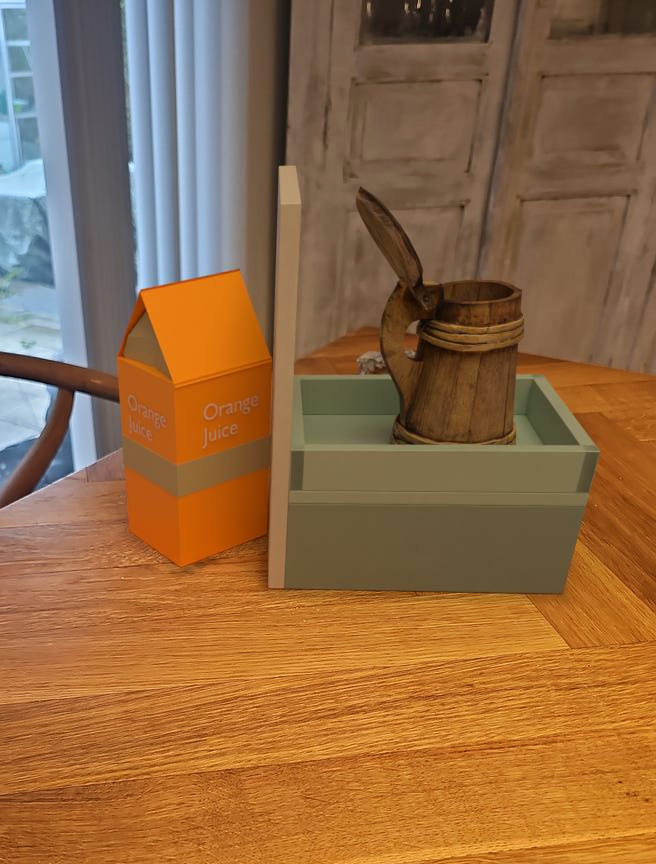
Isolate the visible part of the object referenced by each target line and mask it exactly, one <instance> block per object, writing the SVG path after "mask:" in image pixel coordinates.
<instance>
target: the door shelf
mask: <svg viewBox="0 0 656 864" xmlns="http://www.w3.org/2000/svg"><path fill="white" fill-rule="evenodd" d="M277 178H278V179H277V180H278V182H277V210H276V211H277V215H276V221H277V222H276V243H275V244H276V245H275V247H276V248H275V249H276V250H275V251H276V252H275V254H276V255H275V278H274V281H275V283H274V311H273V312H274V313H273V347H272V380H271V415H270V435H271V441H270V466H269V485H268V527H267V535H268V541H267V544H268V545H267V546H268V547H267V549H268V550H267V551H268V552H267V555H268V556H267V589H278V590H279V589H283V590H284V589H285V590H335V591H337V590H338V591H340V590H342V591H383V592H385V591H386V592H387V591H388V592H391V591H394V592H436V593H437V592H438V593H442V592H445V593H446V592H447V593H488V594H489V593H494V594H496V593H498V594H543V595H544V594H545V595H551V594H553V595H563V594H564V591H565V587H566V584H567V579H568V576H569V572H570V569H571V564H572V562H573V557H574V553H575V549H576V546H577V541H578V538H579V535H580V530H581V527H582V523H583V518H584V515H585V512H586V506H587V503H588V500H589V496H590V493H591V489H592V485H593V481H594V477H595V473H596V471H597V466H598V462H599V460H600V459H599V458H600V455H601V450H600V449H599V448H598V446H597V445H596V444H595V442H594V441H593V439H592V438H591V437H590V435H589V434H588V433H587V432H586V430H585V429H584V428H583V426H582V425H581V423H580V422H579V421H578V420H577V418H576V417H575V416H574V414H573V412H572V411H571V410H570V408H569V407H568V405H566V403H565V402H564V401H563V399H562V398H561V397H560V395H559V393H558V392H557V391H556V390H555V388H554V387H553V386H552V384H551V382H549V380H548V379H547V378H546V377H545V375H544V374H543V373H526V374H525V373H516V384H515V401H514V417H513V422H514V423H515V425H516V445H393V444H392V442H391V440H390V436H391V432H392V428H393V424H394V420H395V418H396V415H397V414H398V413H399V412H400V402H399V395H398V392H397V389H396V387H395V384H394V382H393V380H392V378H391V376H390V375H358V374H295V357H296V356H295V355H296V336H297V334H296V333H297V313H298V310H297V309H298V292H299V291H298V289H299V288H298V287H299V269H300V268H299V267H300V247H301V246H300V245H301V224H302V223H301V222H302V197H301V192H300V185H299V178H298V172H297V166H296V165H279V166H278V177H277Z"/></svg>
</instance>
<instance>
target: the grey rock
mask: <svg viewBox="0 0 656 864" xmlns="http://www.w3.org/2000/svg"><path fill="white" fill-rule="evenodd" d="M404 351H405V353H406V356H408V357H410V358H415V354H416V351H414V350H413V348H409V349H407V350H404ZM356 363H358V371H357V375H389V373H388V371H387V368H386V366H385V363H384V360H383V358H382V355H381V351H378V350H377V351H376V350H369V351H367V352H365V353H364V354H362V355H360V356H359V357H358V358H356Z"/></svg>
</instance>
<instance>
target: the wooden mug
mask: <svg viewBox="0 0 656 864" xmlns="http://www.w3.org/2000/svg"><path fill="white" fill-rule="evenodd" d="M355 205H356V209H357V212H358V214H359V217H360V218H361V221H362V222H363V224H364V226H365V228H366V230H367V233H368V234H369V236H370V237H371V238H372V240H373V242H374V243H375V245H376V246H377V247H378V249H379V250H380V252H381V253H382V255H383V257H384V258H385V260H386V261H387V263H388V265H390V267H391V269H392V270H393V271H394V274H395V275H396V276H397V278H398V280H397V281H396V285H395V287H394V288H393V290H392V291H391V294H390V295H389V297H388V299H387V301H386V304H385V305H384V309H383V312H382V314H381V319H380V324H379V331H378V338H379V350H380V351H379V352H381V355H382V358H383V360H384V363H385V366H386V368H387V371H388V373H389V375H390V376H391V378H392V380H393V382H394V384H395V387H396V389H397V392H398V395H399V402H400V412H399V413H398V414H397V415H396V418H395V420H394V424H393V428H392V432H391V436H390V440H391V442H392V444H393V445H516V425H515V423H514V422H513V417H514V401H515V384H516V374H517V366H518V351H519V343H520V342H521V341H522V340H523V338H525V315H524V313H523V312H522V297H523V290H522V289H521V288H519V287H517V286H515V285H513V284H512V283H510V282H506V281H502V280H496V279H463V280H462V279H461V280H456V281H449V282H444V283H442V282H438V281H428V280H427V281H425V280H424V278H423V273H424V269H423V268H424V267H423V265H422V262H421V260H420V259H421V258H420V256H419V255H418V253H417V251H416V249H415V247H414V246H413V244H412V241H411V240H410V238H409V236H408V235H407V233H406V231H405V230H404V228H403V227H402V225H401V224H400V222H399V221H398V220H397V219H396V217H395V216H394V215H393V213H392V212H391V211H390V210H389V208H388V207H387V206H386V205H385V204H384V203H383V202H382V201H381V200H380V199H379V198H378V197H376V196H375V195H374V194H372V193H371V192H369V191H368V190H366V188H364V187H362V186H359V188H358V191H357V193H356V194H355ZM415 322H417V324H416V327H415V334H416V335H417V336H418V340H417V341H418V342H417V347H416V350H415V353H416V354H415V358H410V357H408V356H406V353H405V351H406V350H405V349H404V338H405V334H406V333H407V331H408V329H409V327H410V326H411V325H412V324H413V323H415Z"/></svg>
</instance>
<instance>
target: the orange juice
mask: <svg viewBox="0 0 656 864" xmlns="http://www.w3.org/2000/svg"><path fill="white" fill-rule="evenodd" d="M138 292H139V293H138V295H137V298H136V301H135V304H134V307H133V310H132V313H131V315H130V319H129V321H128V324H127V327H126V329H125V333H124V336H123V338H122V341H121V344H120V348H119V350H118V353H117V356H116V367H117V369H116V370H117V381H118V382H117V383H118V395H119V408H120V421H121V422H120V423H121V443H122V444H121V446H122V447H121V448H122V459H123V460H122V461H123V465H124V475H125V489H126V490H125V491H126V501H127V502H126V504H127V516H128V517H127V518H128V528H129V532H130V533H131V534H132V535H134V536H135V537H137V538H138V539H140V540H141V541H143V542H144V543H145V544H146V545H148V546H150V547H151V548H152V549H153V550H155V551H157V552H158V553H159V554H161V555H162V556H164V557H165V558H166V559H168V560H169V561H171V562H172V563H174V564H175V565H177V566H178V567H179V568H183V567H186V566H189V565H191V564H193V563H197V562H199V561H201V560H204V559H206V558H207V559H208V558H209V557H211V556H215V555H217V554H219V553H222V552H225V551H227V550H230V549H232V548H235V547H237V546H240V545H242V544H243V545H244V544H245V543H248V542H251V541H253V540H255V539H256V540H257V539H258V538H261V537H263V536H266V535H268V521H269V473H270V441H271V407H272V375H273V356H271V354H270V351H269V348H268V345H267V343H266V340H265V337H264V334H263V331H262V329H261V326H260V323H259V321H258V317H257V314H256V311H255V309H254V306H253V303H252V301H251V298H250V295H249V291H248V290H247V286H246V283H245V282H244V278H243V276H242V273H241V268H235V269H232V270H226V271H221V272H217V273H216V272H215V273H212V274H207V275H203V276H198V277H193V278H189V279H184V280H183V279H182V280H179V281H175V282H174V281H173V282H169V283H163V284H160V285H155V286H151V287H145V288H140V290H139V291H138Z"/></svg>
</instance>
